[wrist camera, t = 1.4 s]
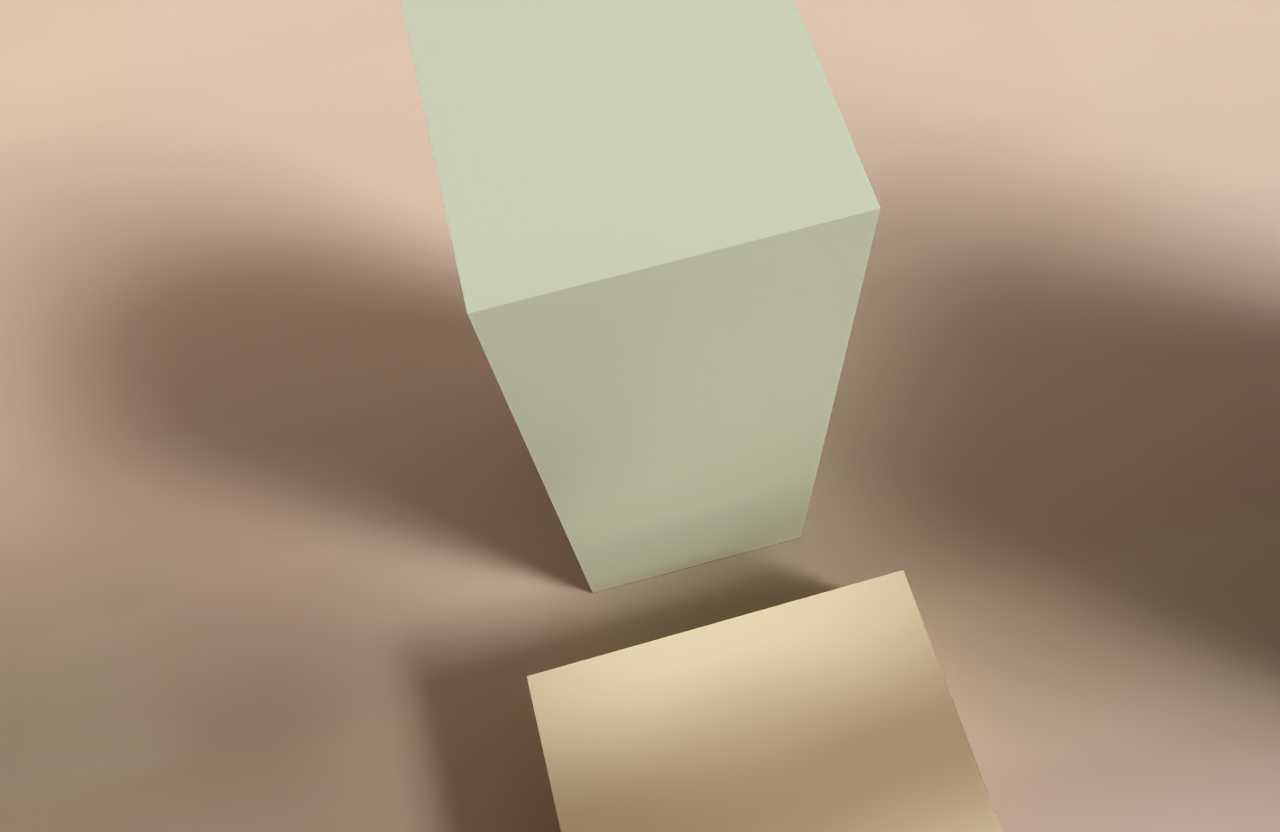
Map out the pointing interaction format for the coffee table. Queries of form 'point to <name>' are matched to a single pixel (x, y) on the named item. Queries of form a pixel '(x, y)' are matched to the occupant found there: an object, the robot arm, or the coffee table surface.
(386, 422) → the coffee table surface
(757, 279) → the sage block
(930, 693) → the maple slab
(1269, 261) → the coffee table surface
